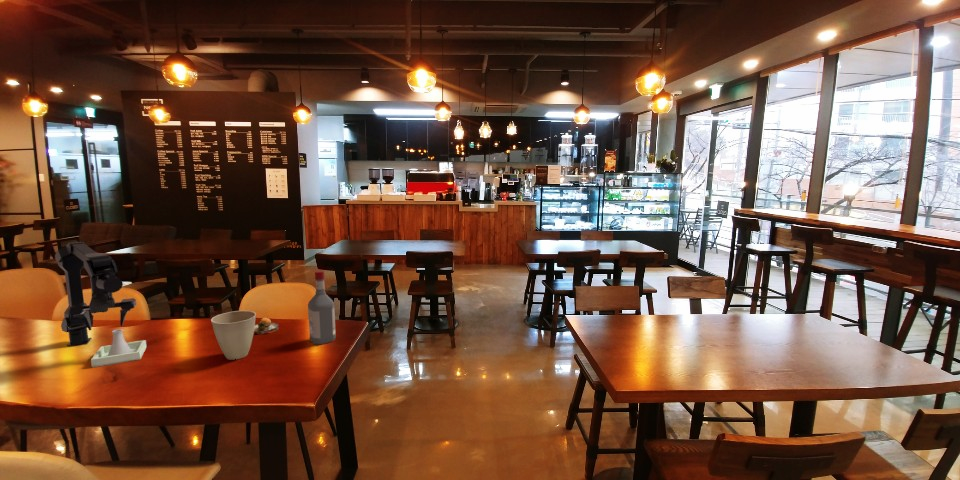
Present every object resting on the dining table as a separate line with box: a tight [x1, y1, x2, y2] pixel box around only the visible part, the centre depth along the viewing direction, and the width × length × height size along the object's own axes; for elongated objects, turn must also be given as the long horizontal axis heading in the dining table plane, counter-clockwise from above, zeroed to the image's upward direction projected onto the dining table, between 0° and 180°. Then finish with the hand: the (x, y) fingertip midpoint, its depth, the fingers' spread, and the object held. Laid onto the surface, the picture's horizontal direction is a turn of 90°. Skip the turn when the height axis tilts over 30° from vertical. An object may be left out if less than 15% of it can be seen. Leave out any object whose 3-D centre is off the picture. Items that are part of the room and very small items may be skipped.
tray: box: [90, 339, 147, 368], centre depth 166 cm, size 14×14×3 cm
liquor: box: [307, 270, 337, 346], centre depth 181 cm, size 9×9×30 cm
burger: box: [253, 317, 279, 335], centre depth 195 cm, size 12×12×8 cm
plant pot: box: [210, 310, 257, 361], centre depth 166 cm, size 15×15×16 cm
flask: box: [108, 328, 132, 356], centre depth 165 cm, size 7×7×10 cm
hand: (106, 328), depth 164 cm, fingers open, 9 cm apart
